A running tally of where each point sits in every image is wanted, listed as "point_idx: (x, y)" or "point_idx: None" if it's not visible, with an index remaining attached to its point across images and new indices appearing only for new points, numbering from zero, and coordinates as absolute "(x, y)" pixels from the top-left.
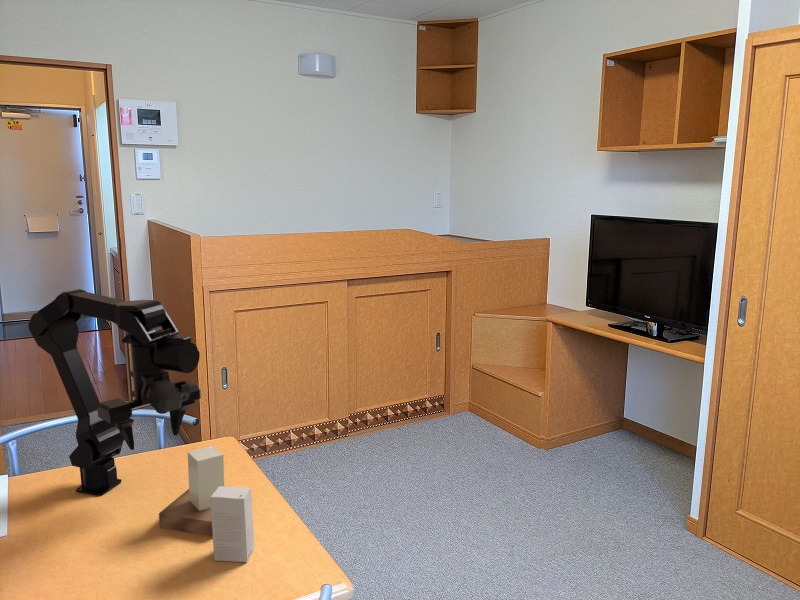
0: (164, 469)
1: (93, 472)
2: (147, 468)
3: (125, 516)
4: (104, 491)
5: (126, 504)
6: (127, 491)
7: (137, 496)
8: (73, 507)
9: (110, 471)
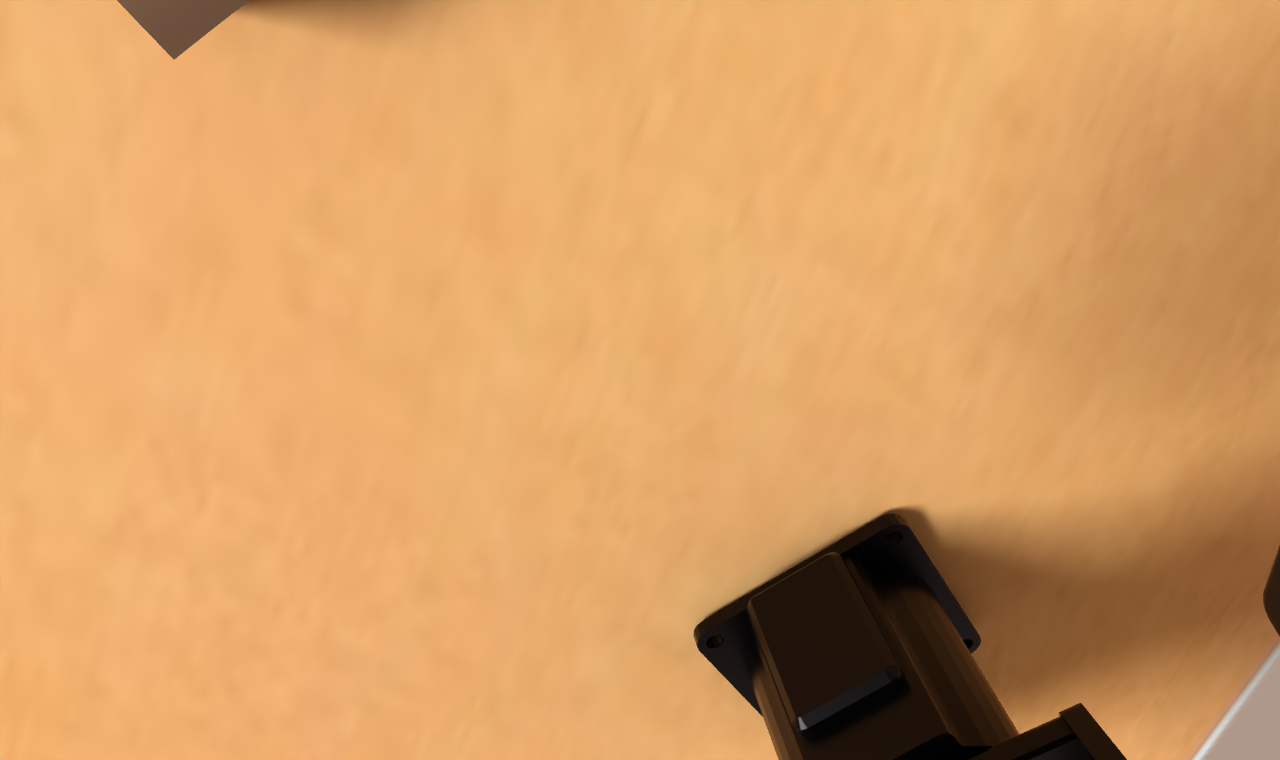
0: (338, 675)
1: (981, 694)
2: (453, 733)
3: (931, 80)
4: (869, 537)
5: (821, 288)
6: (718, 485)
7: (692, 370)
8: (1094, 451)
9: (860, 672)
